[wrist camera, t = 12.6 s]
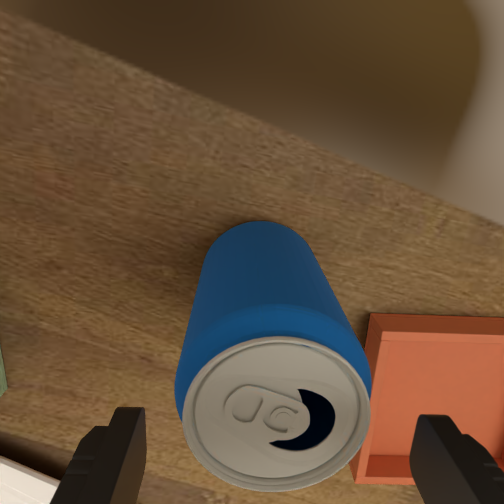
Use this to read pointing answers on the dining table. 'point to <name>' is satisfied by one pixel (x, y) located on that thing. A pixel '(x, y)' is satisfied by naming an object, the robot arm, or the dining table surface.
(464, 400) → the terracotta tray
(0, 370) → the green tray
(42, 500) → the plate
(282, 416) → the beverage can
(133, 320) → the dining table surface
